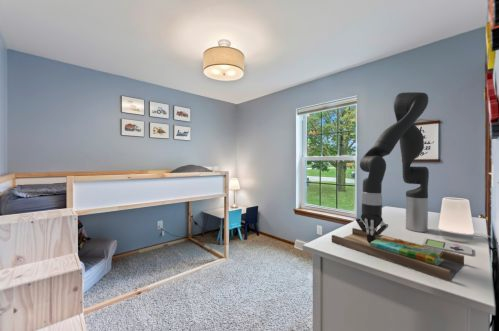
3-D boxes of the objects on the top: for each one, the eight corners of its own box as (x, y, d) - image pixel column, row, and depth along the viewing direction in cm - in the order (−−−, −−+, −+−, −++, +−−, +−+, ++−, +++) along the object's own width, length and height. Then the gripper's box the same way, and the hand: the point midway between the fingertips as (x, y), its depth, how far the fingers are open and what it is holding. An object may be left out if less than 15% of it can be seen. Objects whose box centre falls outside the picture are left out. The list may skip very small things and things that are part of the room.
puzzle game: (381, 234, 94) (443, 248, 78) (381, 244, 94) (443, 261, 78) (370, 240, 87) (434, 257, 71) (370, 252, 87) (434, 271, 71)
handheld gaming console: (472, 253, 83) (422, 243, 93) (472, 257, 83) (422, 246, 93) (471, 246, 90) (425, 237, 100) (471, 249, 90) (425, 240, 100)
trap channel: (353, 233, 109) (353, 227, 109) (464, 264, 77) (464, 255, 76) (331, 242, 98) (331, 235, 98) (449, 281, 66) (449, 271, 66)
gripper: (392, 204, 89) (392, 246, 90) (360, 199, 100) (360, 237, 101) (384, 206, 85) (383, 250, 85) (351, 201, 96) (351, 240, 96)
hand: (371, 243), depth 93 cm, fingers closed
